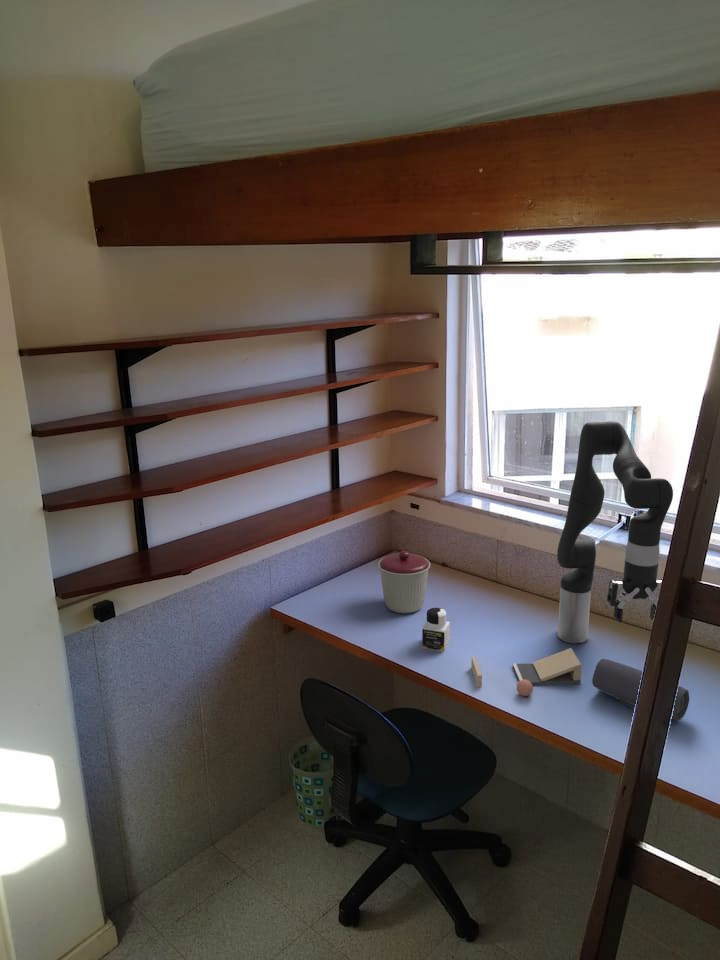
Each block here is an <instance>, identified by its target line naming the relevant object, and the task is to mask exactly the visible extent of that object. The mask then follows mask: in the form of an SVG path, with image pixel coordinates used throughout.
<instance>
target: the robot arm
mask: <svg viewBox="0 0 720 960" xmlns="http://www.w3.org/2000/svg"><path fill="white" fill-rule="evenodd" d="M604 455H605V456H607V455H608V456H609V455H615V457H614V458H613V461H612V471H613V473H614V475H615V477H616V478H617V480H618V481H619V482H620V483H621V486H622V488H623V490H622V491H623V495H624V500H625V501H624V502H625V503H626V504H627V506H628V507H631V508H633V509H637V510H640V509H644V510H647V509H648V510H647V511H646V512H645V513H642V514H639V515H635V516H633V517H632V518H630V521H629V527H628V535H627V543H626V548H625V555H624V556H625V557H624V565H623V566H624V567H623V578H622V580H621V581H615V580H614V579H611V580H609V583H608V584H609V585H608V591H607V598H606V602H608V603H609V605H610V606H611V607H614V610H613V617H614V618H615V619H616V621H617V622H619V623H620V622H622V621H623V615H624V613H623V611H624V608H623V607H624V606H625V605H626V604H627V603H629V602H630V601H631V600H639V599H641V600H642V599H643V600H646V599H647V598H648V599H650V601H651V604H650V612H649V618H650V619H651V620H652V621H653V618H654V614H655V610H656V605H657V601H658V598H657V596H656V595H655V594H654V591H655V590H656V589H657V587H658V589H660V585H661V582H662V578H660V580H657V578H658V570H659V561H660V553H661V552H660V541H661V531H662V526H663V524H664V521H665V518H666V516H667V513H668V511H669V509H670V507H671V504H672V502H673V497H674V490H673V486H672V484H671V482H669V480H667V479H666V478H652V474H651V471H650V470H649V469H648V467H647V466H646V465H645V464H644V462H643V461H642V460H641V459H640V457H639V456H638V455H637V454H636V450H635V448H634V447H633V444H632V442H631V439H630V437H629V435H628V433H627V431H626V429H625V427H624V426H623V425H622V423H620V422H618V421H614V420H613V421H612V420H603V421H601V420H599V421H588V422H586V423H584V424H583V426H582V428H581V431H580V436H579V443H578V452H577V462H576V468H575V469H576V470H575V474H574V478H573V483H572V487H571V491H570V495H569V496H570V497H569V501H568V507H567V513H566V517H565V522H564V526H563V529H562V531H561V532H562V533H561V535H560V539H559V542H558V545H557V553H556V556H557V557H556V558H557V562H558V565H559V567H561V568H563V569H575V570H573V571H571V572H569V573H566V574H564V575H563V576H562V577H561V578H560V592H559V605H558V606H559V607H558V620H557V622H558V623H557V638H558V639H560V640H561V641H563V642H566V643H569V644H582V643H585V642H586V641H587V640H588V636H589V635H588V633H589V623H590V622H589V621H590V608H591V597H592V596H591V595H592V584H593V581H594V573H595V567H596V566H595V565H596V558H597V557H596V556H597V548H596V544H595V541H594V540H593V539H592V538H589V537H582V538H581V537H580V538H579V535H580V534H581V533H582V532H583V531H584V530H585V529H586V528H587V527H588V526H590V525H591V524H592V522H594V521H595V519H597V517H598V516H599V515H600V514H601V510H602V507H603V503H604V498H605V488H604V485H603V483H602V481H601V479H600V478H599V476H598V474H597V473H596V471H595V469H594V466H593V465H594V464H593V459H594V457H595V456H604ZM621 588H623V589H622V590H621V591H620V589H621ZM618 591H619V595H618Z"/></svg>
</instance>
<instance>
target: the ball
mask: <svg viewBox="0 0 720 960" xmlns="http://www.w3.org/2000/svg"><path fill="white" fill-rule="evenodd" d="M533 686H534V685H532V684H531V682H530V681H528V680H520V681H518V682H517V684H516V691H517V693H518V694H519V695H520V696H523V697H529V696H530V695H531V694H532V693H533V691H534V687H533Z"/></svg>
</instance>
